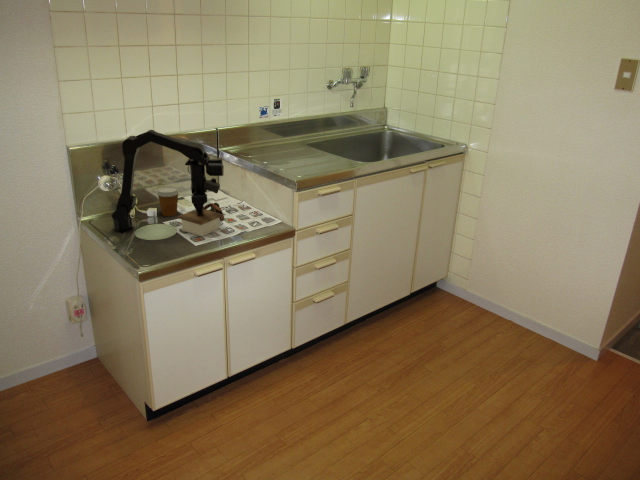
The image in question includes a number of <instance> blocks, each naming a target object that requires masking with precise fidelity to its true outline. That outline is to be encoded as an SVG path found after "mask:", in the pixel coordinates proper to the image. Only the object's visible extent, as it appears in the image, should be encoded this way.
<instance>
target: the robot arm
mask: <svg viewBox="0 0 640 480" xmlns="http://www.w3.org/2000/svg"><path fill="white" fill-rule="evenodd" d="M148 143H152V144H156V145H160V146H162V147H165V148H168V149H171V150H172V151H176V152H178V153H181V154H182V155H183V156H185V157H186V158H188V159H187V161H185V162H184V165H185V166H189V167H190V168H189V169H190V171H189V172H190V183H191V184H190V191H191V204H192V205H193V207H194V210H195V209H196V211H197V213H198V215H199V216H201V215H202V210H203V207H204V206H205V204H208V194H207V192H209V191H210V192H212V193H214V194H218V193H219V190H220V187H221V186H220V183H219V182H217V179H216V178H214V177H223V176H224V171H225V170H224V169H225V168H224V166H225V165H224V163H223V159H222V158H217V159H212V158H210V156H209V155H208V153H206V151H205V147H204V145H203V144H201V143H198V142H194V141H193V142H192V141H182V140H180V139H177V138H174V137H172V136H169V135H166V134H163V133H161V132H158V131H156V130H154V129H148V130H147V131H145V132H143V133H140V134H137V135H130V136H128V137H127V138H126V139H124V140H123V141H122V144H121V149H122V155H123V160H124V161H123V171H122V173H123V174H122V183H121V184H122V185H121V192H120V195H119V197H118V199H117V203H116V209H114V211H113V213H112V214H111V218H112V220H113V228H112V231H113V232H117V233H120V234H124V233H126V232H130V231H132V230H134V229H135V227H133V220H132V216H131V214H130V213H131V212H132V211H133V210H134V208H135V207H136V206H137V202H136V201H137V198H138V197H137V195H134V194H133V188H134V180H135V169H136V161H137V158H138V155H139V152H140V149H141V148H142V147H143V146H146V145H147V144H148ZM206 174H207V175H208V176H210V177H212V178H211V179H207V177H206Z"/></svg>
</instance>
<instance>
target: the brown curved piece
mask: <svg viewBox="0 0 640 480" xmlns="http://www.w3.org/2000/svg"><path fill="white" fill-rule="evenodd" d="M203 207H204V209H206V210H210V211H213V212H217V213H220V214H223V216H221V217H220V218H221V221H223V222H224V220H225V216H224V213H223V210H222V209H221V207H220V204H219V203H218V202H213V203H212V202H210V203H206V205H203ZM209 208H210V209H209Z"/></svg>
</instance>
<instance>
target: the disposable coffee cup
mask: <svg viewBox="0 0 640 480" xmlns="http://www.w3.org/2000/svg"><path fill="white" fill-rule="evenodd" d="M179 193H180V191H179V189H178V187H175V186H172V185H171V186H170V185H169V186H161V187H158V189H157V191H156V194H157V196H158V202H159V205H160V209H161V214H162V216H164V217H172V216H173V217H175V216H176V215H177V214H178V203H179V202H178V199H179Z"/></svg>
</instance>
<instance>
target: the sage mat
mask: <svg viewBox="0 0 640 480" xmlns="http://www.w3.org/2000/svg"><path fill="white" fill-rule="evenodd" d="M177 232H178V229H177V228H176V227H175V226H174V225H171V224H166V223H154V224H148V225H143V226H141V227H139V228H137V229H136V230H135V231H134V235H135V237H137V238H138V239H140V240H141V239H142V240H147V241H148V240H149V241H156V240H164V239H168V238H171V237H173V236H175V235H176V233H177Z"/></svg>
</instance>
